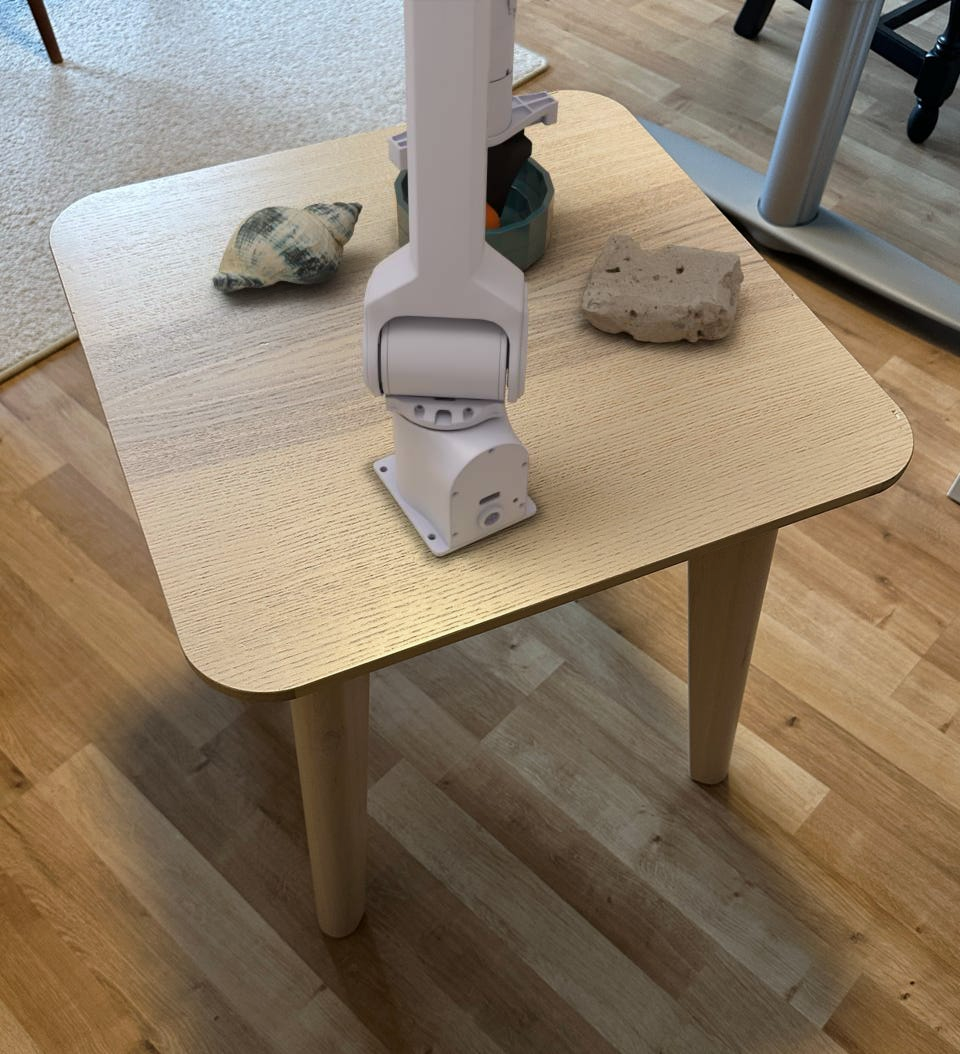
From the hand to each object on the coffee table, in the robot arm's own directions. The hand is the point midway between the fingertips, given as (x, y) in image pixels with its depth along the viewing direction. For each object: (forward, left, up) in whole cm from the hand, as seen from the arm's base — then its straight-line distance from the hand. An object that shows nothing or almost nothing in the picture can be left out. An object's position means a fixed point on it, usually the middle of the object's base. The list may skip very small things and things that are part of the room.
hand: (473, 218), depth 92 cm
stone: (-16, -8, -2) cm, 18 cm away
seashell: (+2, +16, -2) cm, 16 cm away
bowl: (0, 0, -2) cm, 2 cm away
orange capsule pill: (0, 0, -1) cm, 1 cm away
